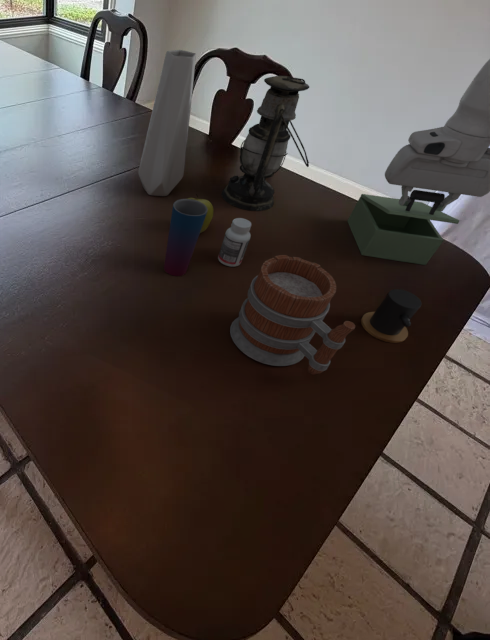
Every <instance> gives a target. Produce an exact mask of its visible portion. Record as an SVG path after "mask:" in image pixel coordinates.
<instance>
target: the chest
mask: <svg viewBox="0 0 490 640" xmlns="http://www.w3.org/2000/svg"><path fill="white" fill-rule="evenodd" d="M346 221H347V223H348V226H349V228H350V231H351V233H352V236H353V238H354V241H355V243H356V245H357V247H358V250H359V252H360V254H361V256H366V257H372V258H377V259H378V258H379V259H384V260H391V261H398V262H403V263H410V264H417V265H422V266H426V265H427V264H428V263H429V261H430V260H431V259H432V257H433V256H434V255H435V253H436V252H437V251H438V249H439V248H440V246H441V245H442V244H443V243H444V241H445V240H444V238H443V237H442V236H441V234H440V232H439V231H438V230H437V229H436V227H435V225H434V224H433V223H432V220H427V219H420V218H414V217H407V216H400V215H393V214H388V213H386V212H384V211H383V210H381V209H379V208H378V207H376V206H375V205H373V204H371V203H370V202H368V201H366V200H365V199H363V198H362V197H359V198H358V200H357V202H356V203H355V205H354V207H353V209H352V210H351V213H350V215H349V216H348V218H347V220H346Z"/></svg>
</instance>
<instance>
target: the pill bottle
mask: <svg viewBox="0 0 490 640" xmlns="http://www.w3.org/2000/svg"><path fill="white" fill-rule="evenodd" d="M251 227H252V222H251V221H250V220H248V219H246V218H243V217H236V218H234V219H233V220H232V223H231V224H230V227H228V228H227V229H226V231H225V234H224V236H223V239H222V243H221V245H220V249H219V253H218V256H217V259H218V261H219V262H220V263H221V264H222V265H224V266H226V267H230V268H231V267H232V268H234V267H238V266H240V265H241V264H242V261H243V259H244V256H245V254H246V251H247V248H248V247H249V246H248V245H249V243H250V241H251V236H252V235H251V232H250V231H251Z"/></svg>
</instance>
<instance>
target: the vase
mask: <svg viewBox="0 0 490 640" xmlns="http://www.w3.org/2000/svg"><path fill="white" fill-rule="evenodd" d="M196 57H197V54H196V53H195V52H193V51H188V50H183V49H172V50H167V51H166V52H165V56H164V59H163V63H162V68H161V71H160V77H159V80H158V85H157V89H156V93H155V98H154V102H153V107H152V111H151V115H150V119H149V124H148V128H147V132H146V137H145V141H144V145H143V149H142V153H141V159H140V162H139V167H138V171H137V175H138V177H139V180H140V181H139V182H140V183H141V186H142V188H143V190H144V191H145V192H146V194H147V195H149V196H152V197H154V196H155V197H167V196H169V195H170V193H171V192H172V191H173V190H174V189H175V187H177V185H178V184H179V183H180V182H181V180H182V179H183V177H184V174H185V169H186V168H185V167H186V157H187V148H188V138H189V128H190V121H191V120H190V119H191V109H192V99H193V90H194V89H193V88H194V81H195V80H194V79H195V70H196V69H195V68H196Z"/></svg>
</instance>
